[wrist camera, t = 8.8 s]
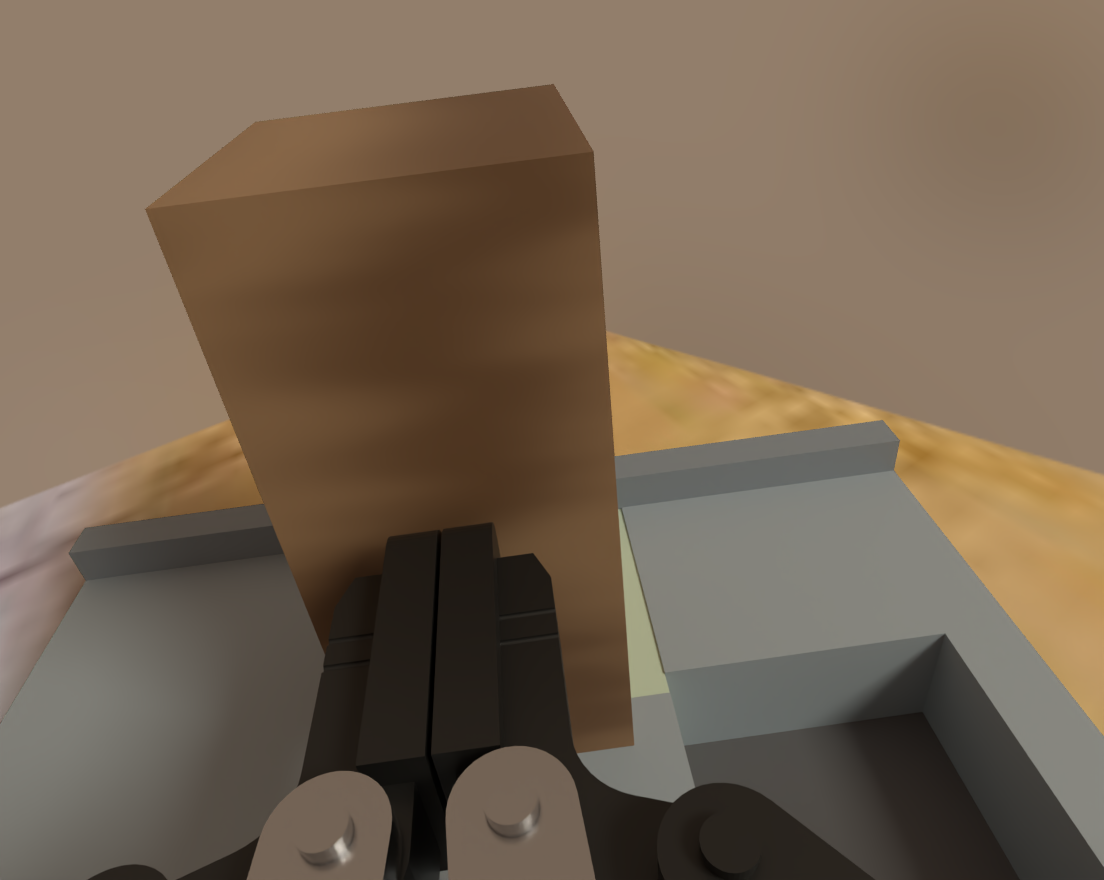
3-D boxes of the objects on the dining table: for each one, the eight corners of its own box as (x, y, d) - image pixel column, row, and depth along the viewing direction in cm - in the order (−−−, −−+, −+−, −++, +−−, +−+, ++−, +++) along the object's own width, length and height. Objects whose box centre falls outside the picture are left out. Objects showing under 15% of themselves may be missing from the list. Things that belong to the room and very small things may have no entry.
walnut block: (376, 781, 14) (145, 208, 8) (398, 594, 19) (255, 121, 12) (634, 745, 14) (593, 151, 8) (598, 566, 19) (553, 84, 13)
